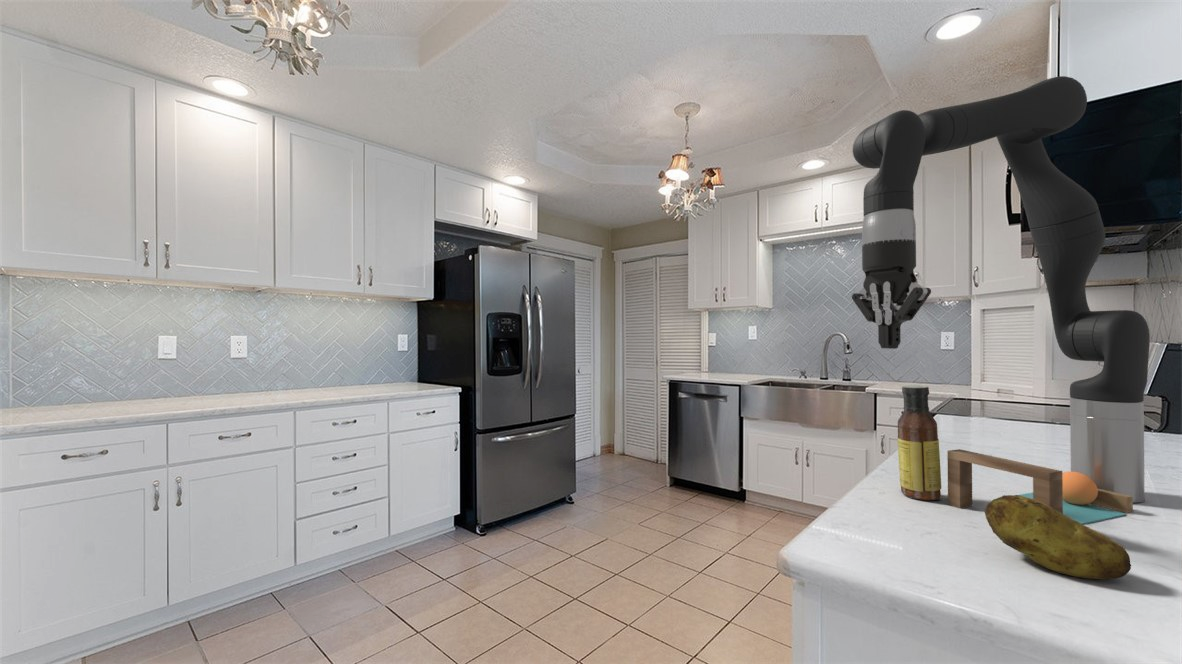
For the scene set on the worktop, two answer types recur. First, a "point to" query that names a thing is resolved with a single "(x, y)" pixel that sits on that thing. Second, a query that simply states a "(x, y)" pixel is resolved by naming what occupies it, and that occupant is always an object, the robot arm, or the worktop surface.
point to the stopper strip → (1114, 501)
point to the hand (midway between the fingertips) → (889, 348)
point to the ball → (1078, 488)
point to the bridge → (1044, 479)
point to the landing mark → (1085, 512)
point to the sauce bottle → (918, 446)
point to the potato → (1055, 539)
